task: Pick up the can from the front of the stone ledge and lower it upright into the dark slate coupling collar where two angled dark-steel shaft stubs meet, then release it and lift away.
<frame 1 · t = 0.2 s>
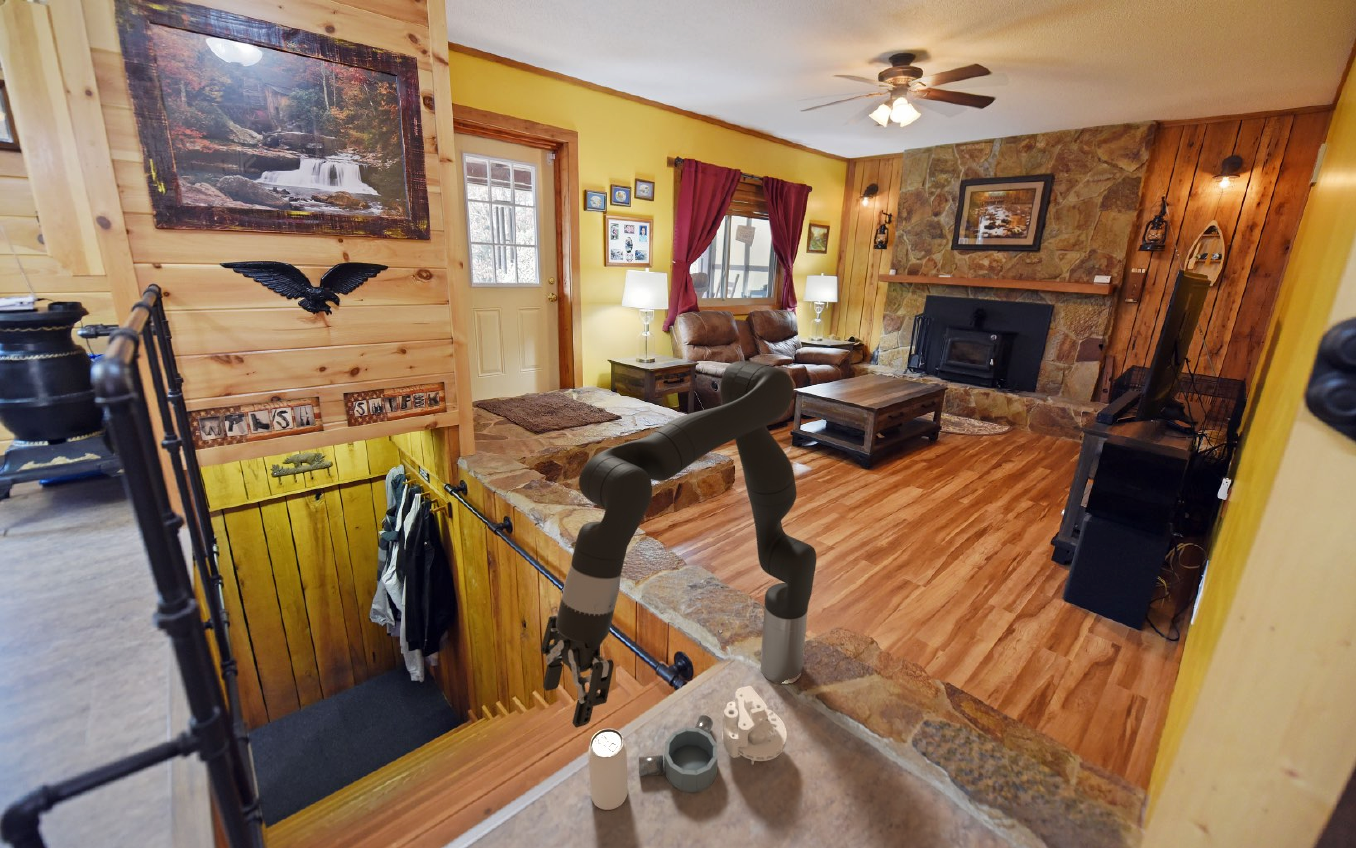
hand: (564, 705, 78), 30 cm above the countertop, tool tilted 20°, fingers open, 8 cm apart
shaft a: (702, 736, 109), on the countertop
collar: (690, 768, 102), on the countertop
can: (609, 794, 98), on the countertop
mechanical part: (752, 751, 106), on the countertop
shaft b: (651, 771, 102), on the countertop
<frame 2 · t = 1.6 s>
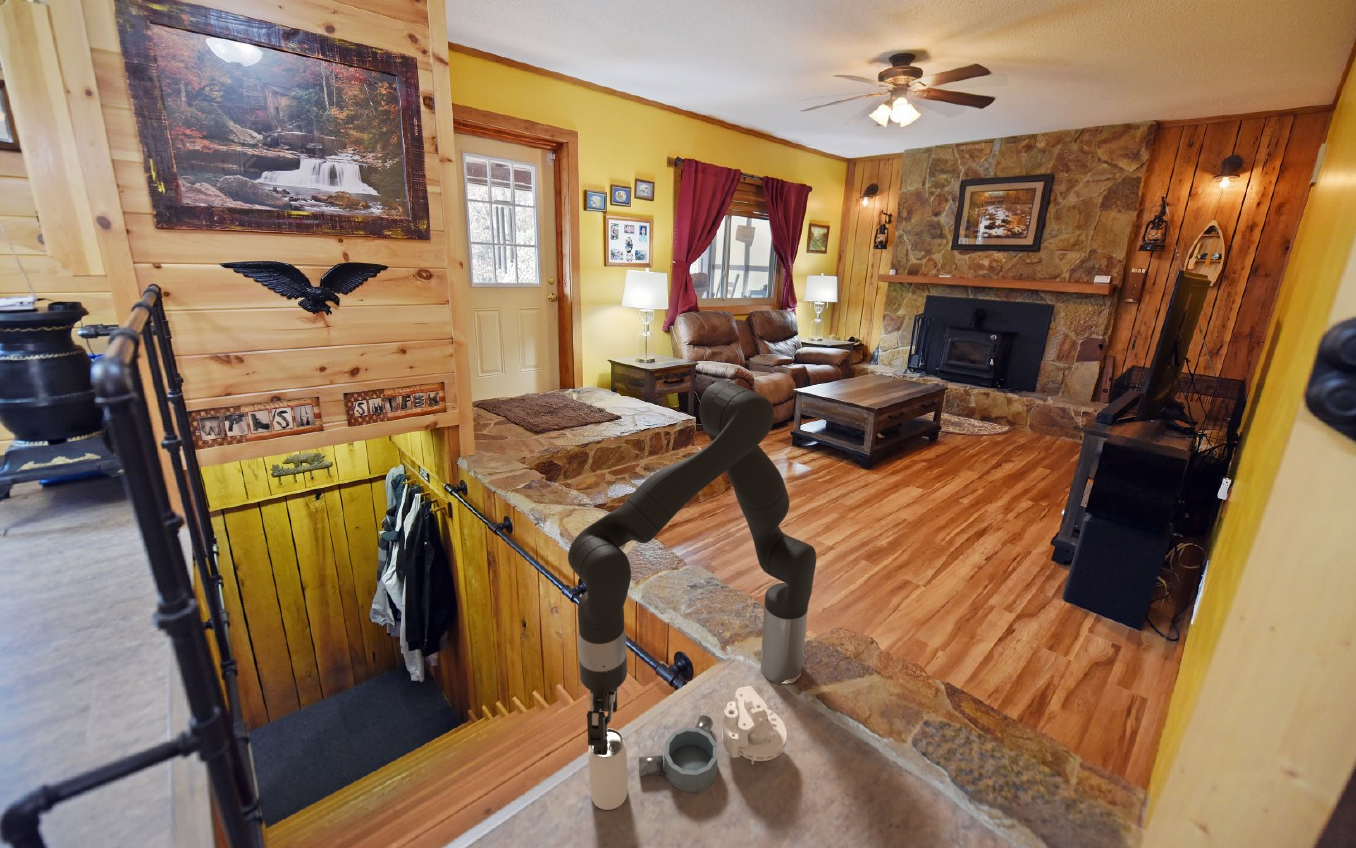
hand: (606, 730, 93), 15 cm above the countertop, tool pointing down, fingers open, 8 cm apart
nothing on the countertop moved.
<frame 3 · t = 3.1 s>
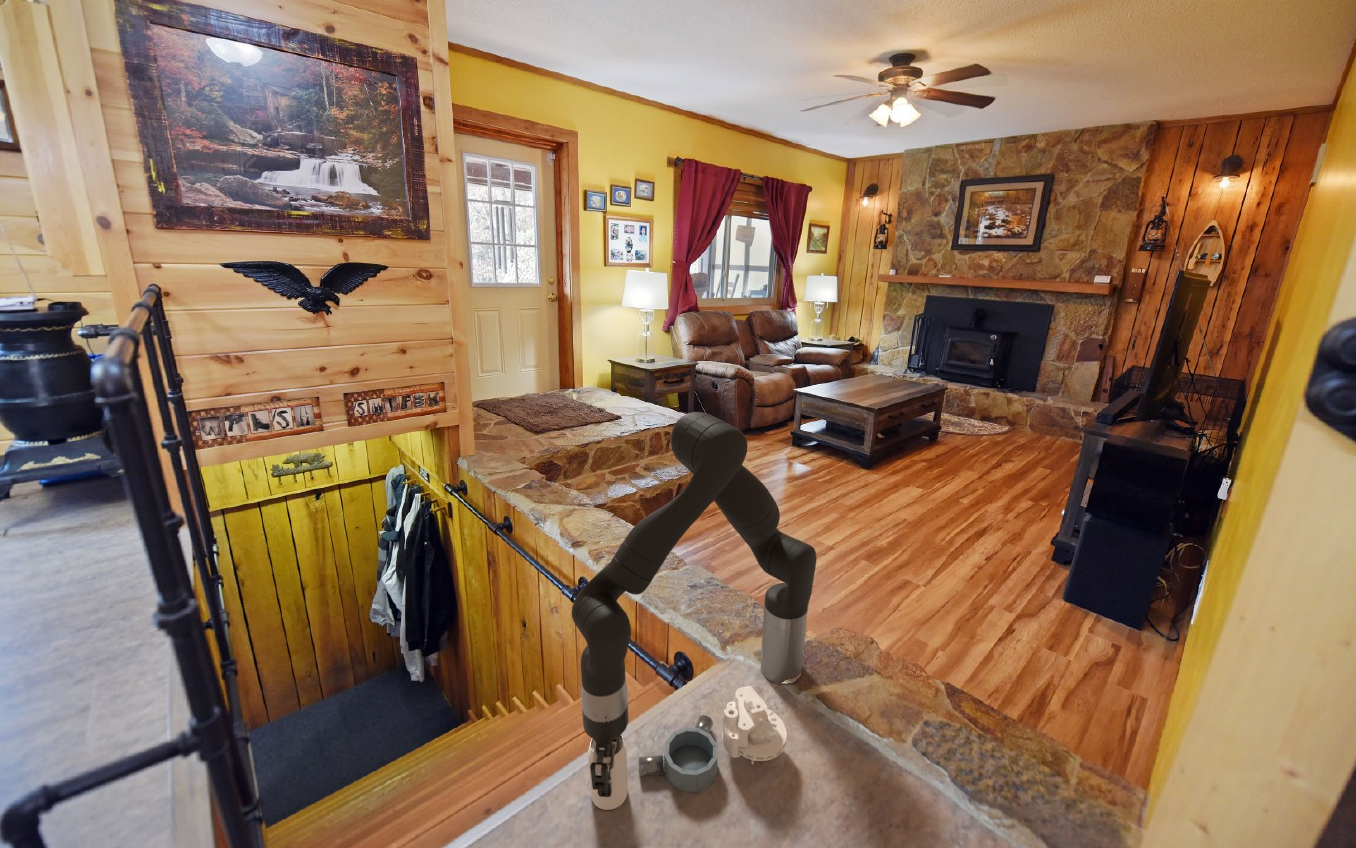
hand: (608, 775, 96), 4 cm above the countertop, tool pointing down, fingers open, 6 cm apart
can: (609, 794, 98), on the countertop, touching gripper
everything else where it was.
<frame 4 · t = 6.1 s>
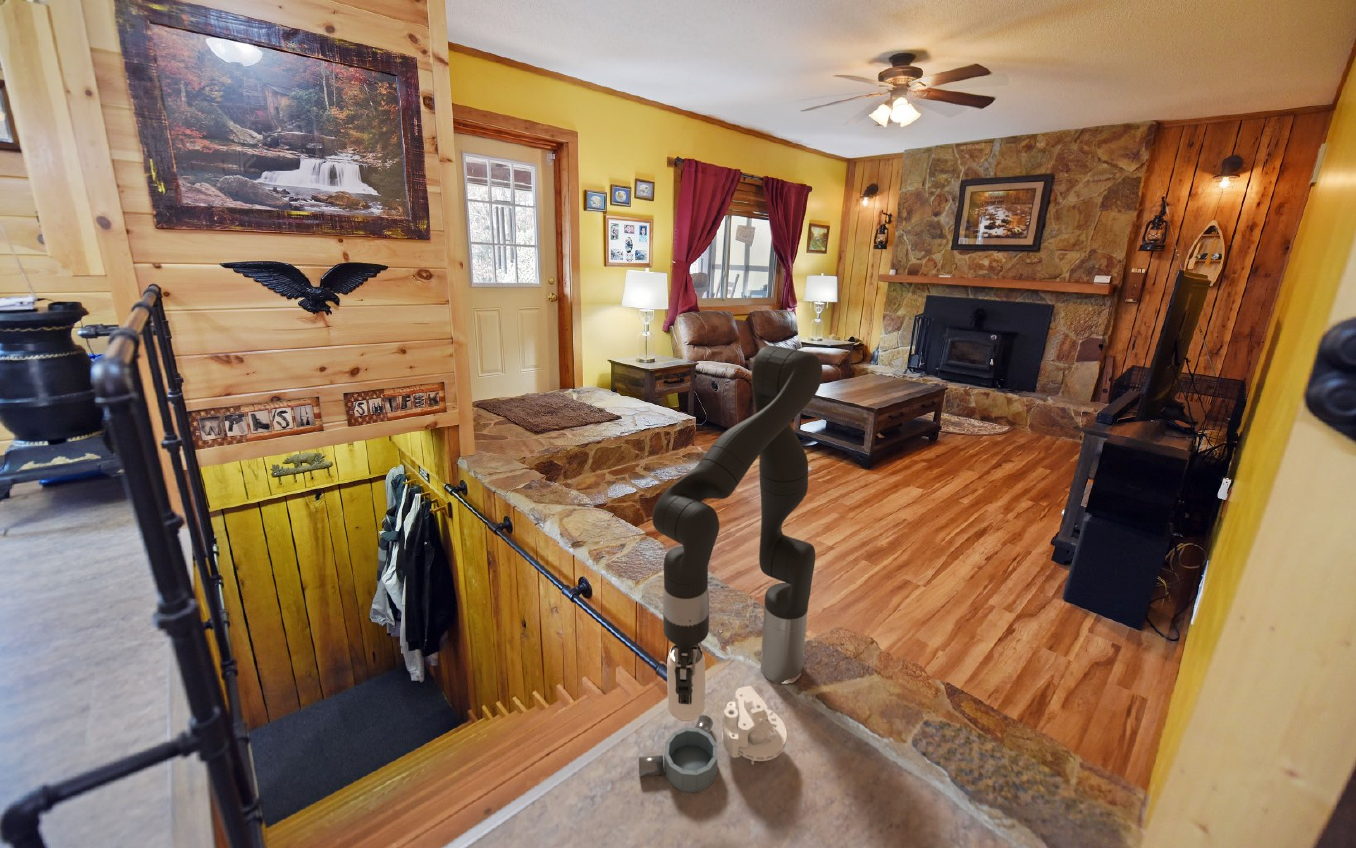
hand: (686, 687, 96), 19 cm above the countertop, tool pointing down, fingers closed on can, 5 cm apart
can: (686, 708, 97), point 15 cm above the countertop, touching gripper
everything else where it was.
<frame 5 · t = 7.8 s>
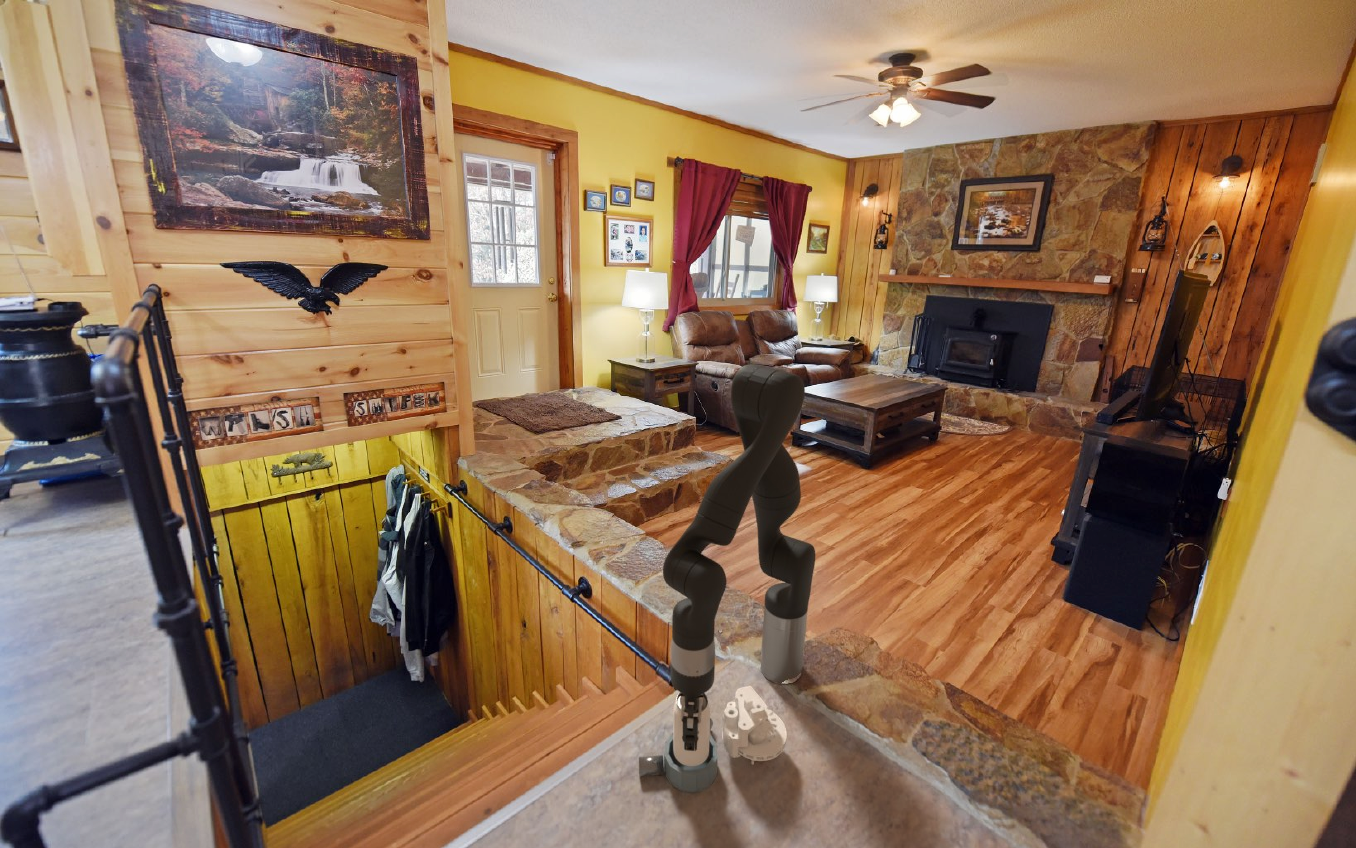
hand: (691, 733, 99), 9 cm above the countertop, tool pointing down, fingers closed on can, 5 cm apart
can: (691, 753, 101), point 4 cm above the countertop, touching gripper
everything else where it was.
when the fingers open (6 cm above the countertop, at t = 9.1 s): can drops 1 cm, resting on collar.
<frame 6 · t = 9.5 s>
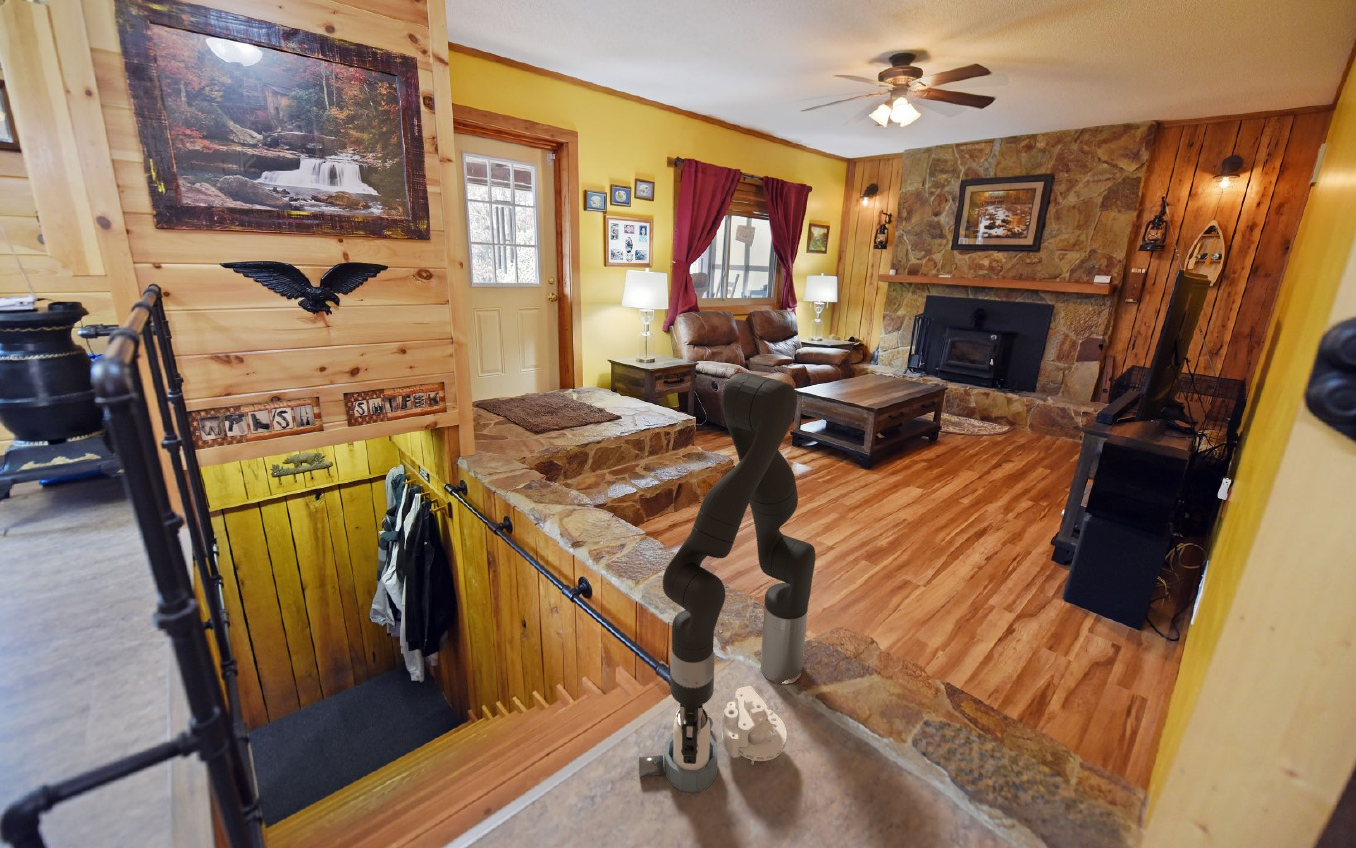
hand: (691, 740, 100), 7 cm above the countertop, tool pointing down, fingers open, 8 cm apart
can: (691, 768, 101), point 1 cm above the countertop, touching collar
everything else where it was.
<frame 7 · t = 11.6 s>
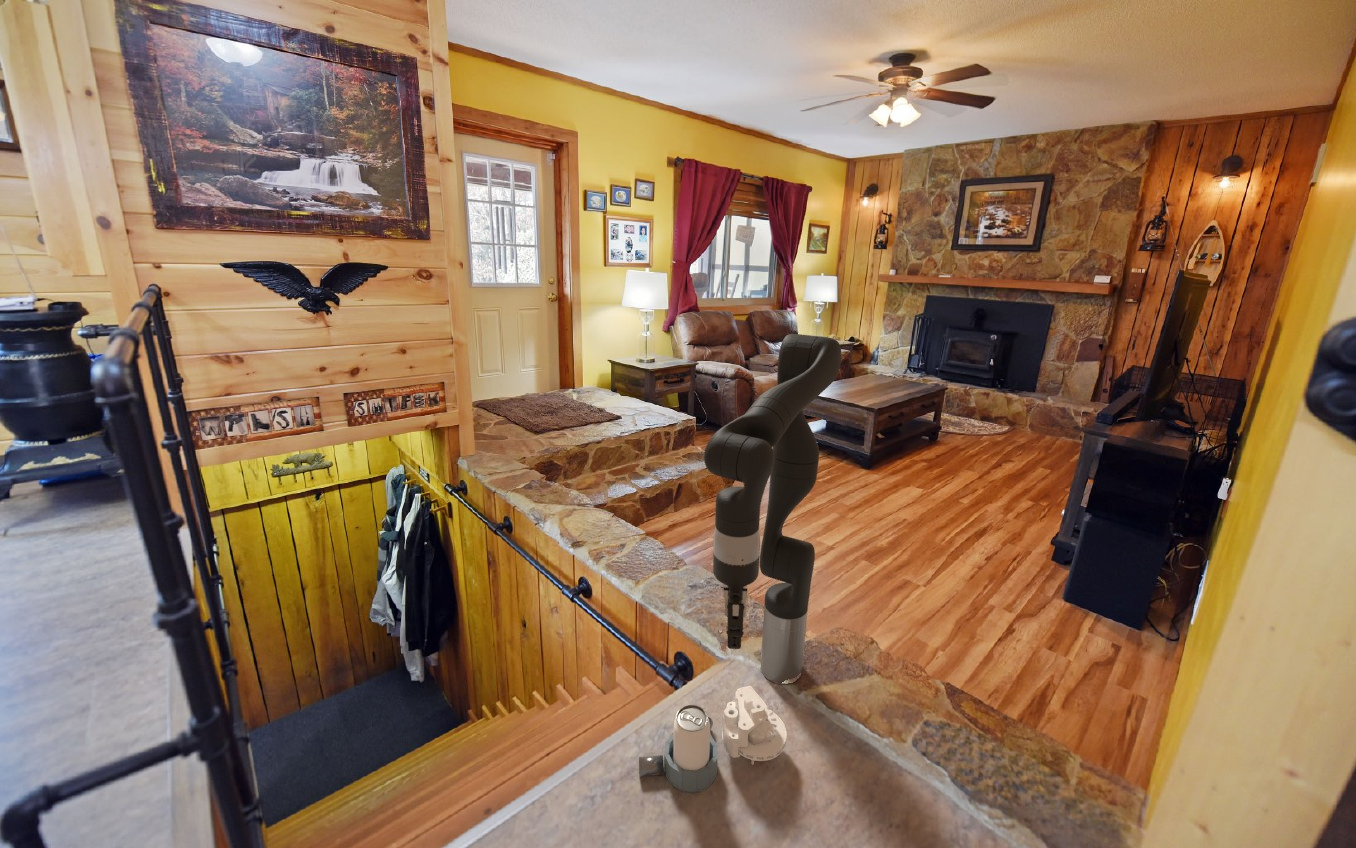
hand: (733, 629, 96), 29 cm above the countertop, tool pointing down, fingers open, 8 cm apart
nothing on the countertop moved.
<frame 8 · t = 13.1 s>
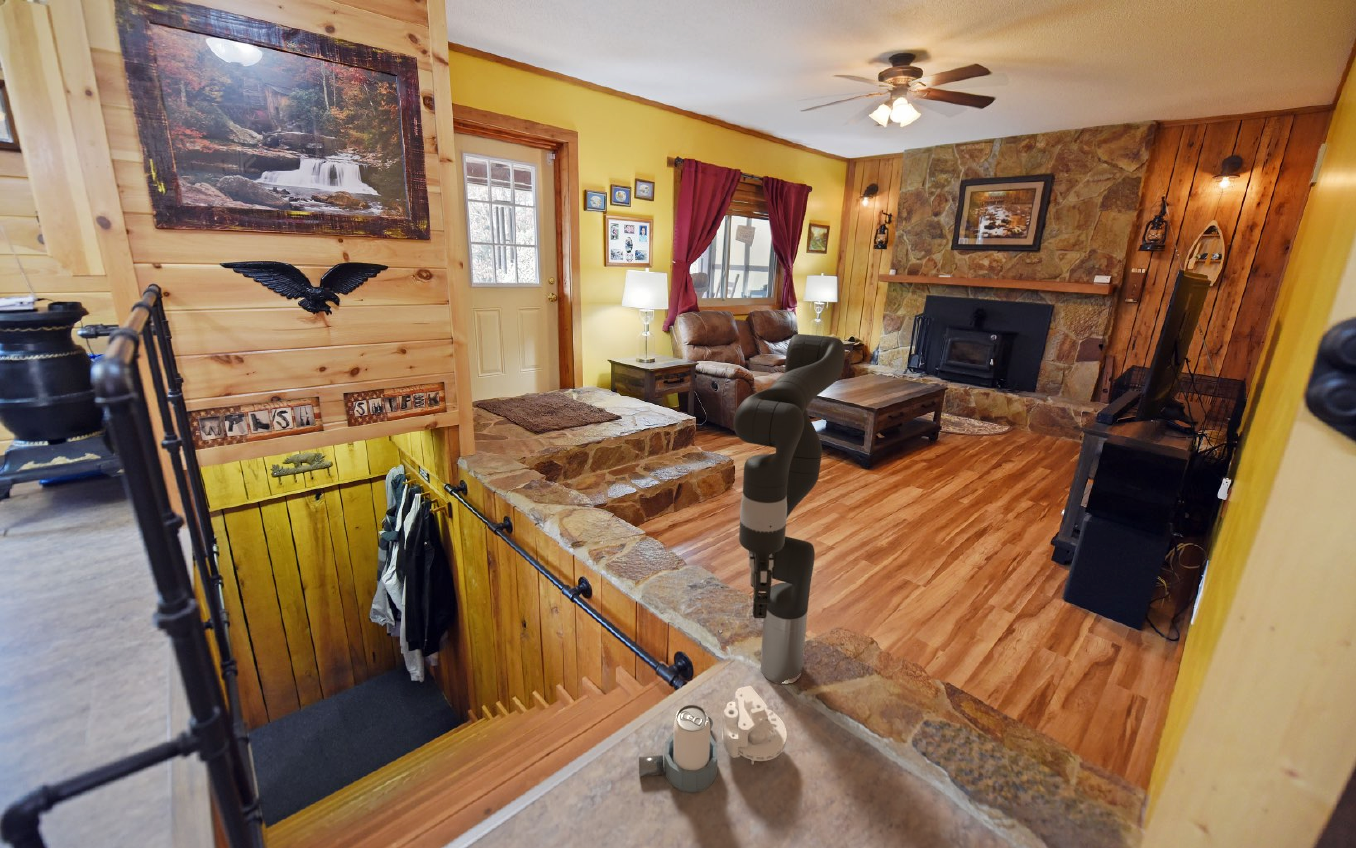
hand: (757, 600, 96), 33 cm above the countertop, tool pointing down, fingers open, 8 cm apart
nothing on the countertop moved.
at the end: can 0.7 cm off-centre on the collar, point 0.8 cm above the collar's base; can tilted 0°; the gripper is holding nothing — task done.
